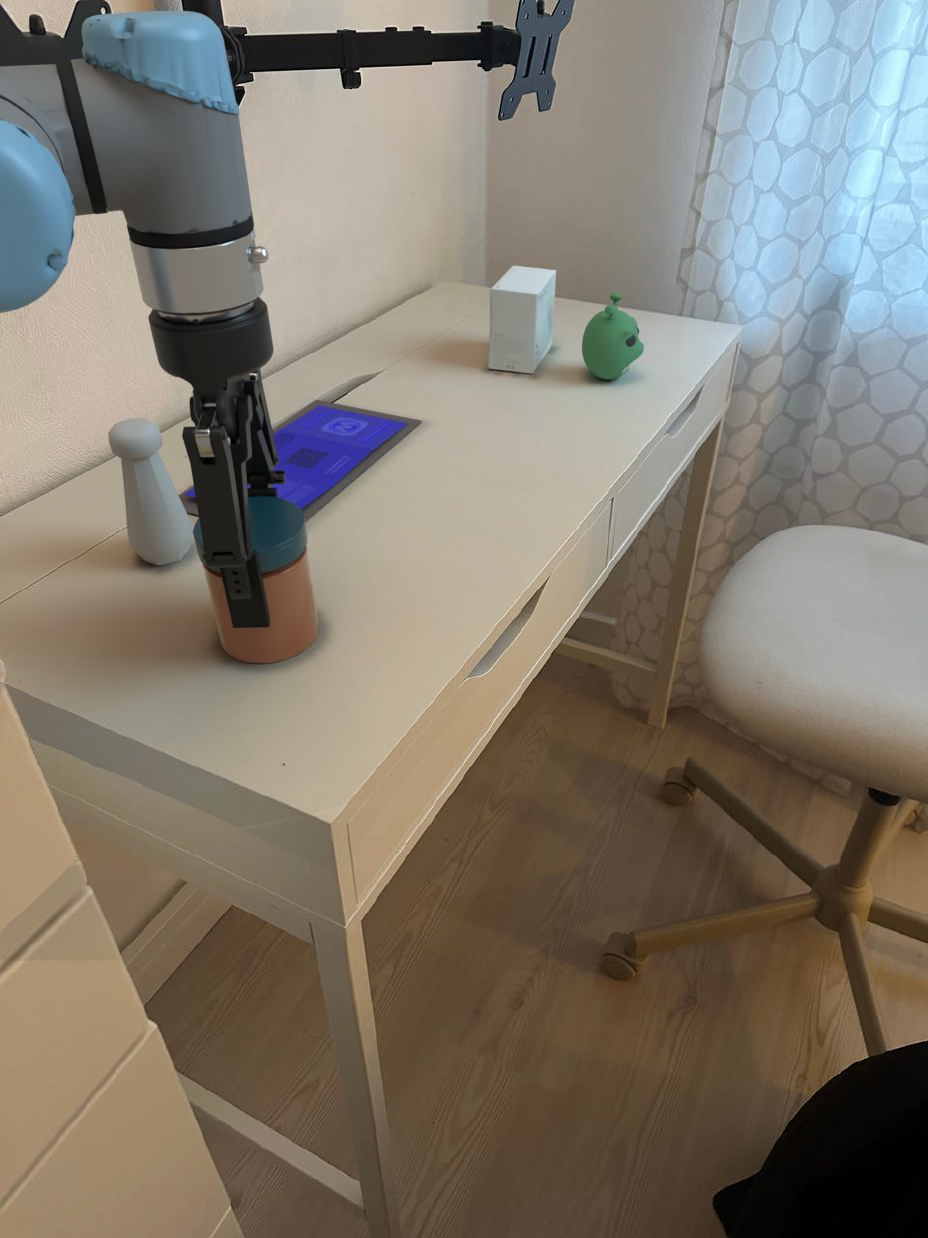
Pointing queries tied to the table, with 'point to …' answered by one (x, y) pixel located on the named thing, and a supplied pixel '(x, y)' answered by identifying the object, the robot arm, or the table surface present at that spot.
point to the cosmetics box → (521, 319)
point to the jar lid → (270, 532)
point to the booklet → (326, 451)
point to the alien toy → (611, 342)
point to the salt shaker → (150, 494)
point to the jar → (271, 615)
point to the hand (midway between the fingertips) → (261, 589)
